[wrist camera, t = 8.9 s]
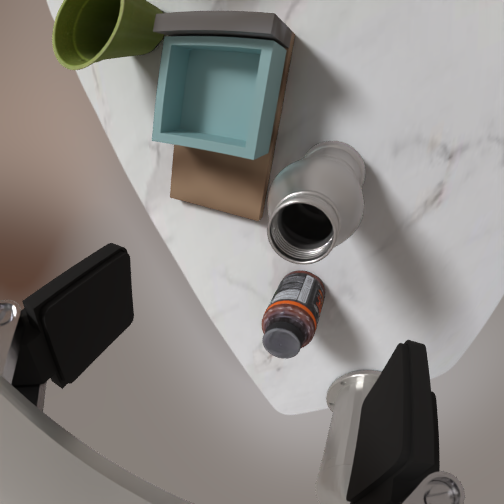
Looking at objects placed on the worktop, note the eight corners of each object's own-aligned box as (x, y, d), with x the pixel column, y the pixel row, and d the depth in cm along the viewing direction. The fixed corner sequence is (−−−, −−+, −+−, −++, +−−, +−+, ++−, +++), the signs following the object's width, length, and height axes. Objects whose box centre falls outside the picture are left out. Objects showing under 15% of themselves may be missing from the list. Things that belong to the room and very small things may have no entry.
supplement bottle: (325, 309, 41) (310, 369, 32) (282, 306, 43) (255, 363, 34) (325, 269, 39) (309, 324, 29) (278, 267, 41) (249, 319, 31)
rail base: (262, 217, 39) (236, 244, 32) (176, 194, 41) (137, 215, 34) (295, 34, 28) (274, 13, 21) (196, 28, 31) (155, 13, 24)
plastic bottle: (372, 187, 33) (379, 275, 16) (315, 202, 36) (264, 297, 19) (354, 131, 31) (346, 154, 14) (296, 149, 34) (222, 193, 17)
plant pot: (169, -23, 28) (112, -47, 19) (194, 45, 32) (135, 30, 23) (104, 21, 33) (45, 14, 24) (123, 85, 37) (61, 89, 27)
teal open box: (268, 153, 34) (253, 159, 29) (176, 135, 36) (151, 140, 32) (286, 50, 28) (274, 40, 24) (188, 42, 31) (164, 36, 26)
